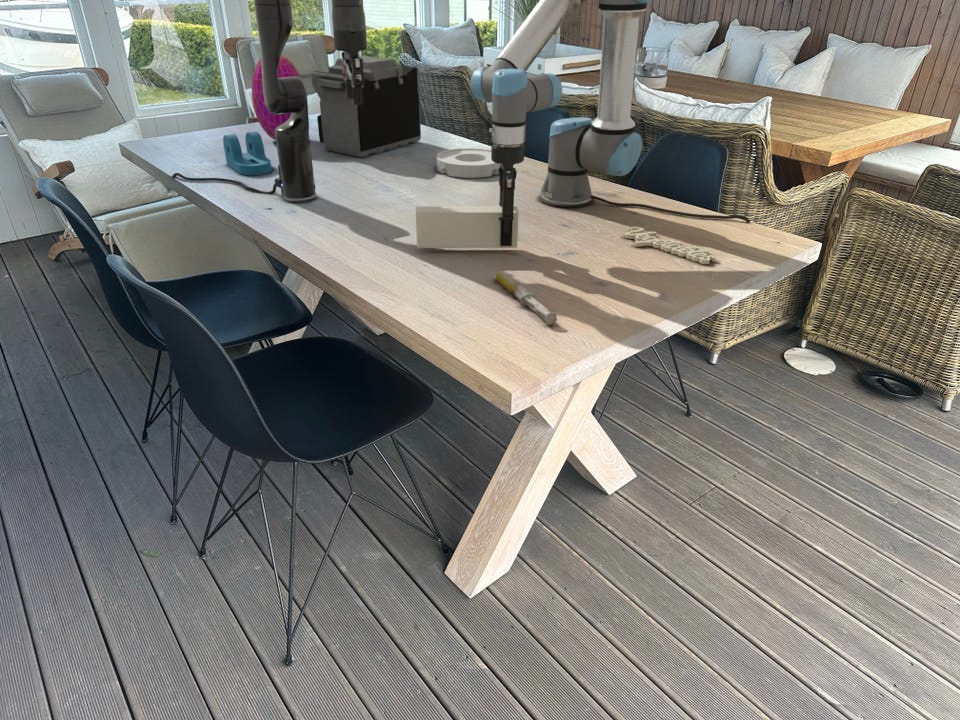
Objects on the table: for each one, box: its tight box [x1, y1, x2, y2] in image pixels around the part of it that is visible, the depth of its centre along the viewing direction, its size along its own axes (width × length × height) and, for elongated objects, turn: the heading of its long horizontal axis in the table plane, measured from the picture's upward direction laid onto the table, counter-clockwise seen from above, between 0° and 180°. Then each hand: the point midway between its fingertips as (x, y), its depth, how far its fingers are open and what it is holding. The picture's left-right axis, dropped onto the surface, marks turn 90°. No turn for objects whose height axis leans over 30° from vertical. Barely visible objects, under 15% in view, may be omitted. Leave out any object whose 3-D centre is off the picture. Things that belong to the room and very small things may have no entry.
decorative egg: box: [251, 55, 302, 141], centre depth 257 cm, size 19×19×30 cm
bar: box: [415, 206, 519, 249], centre depth 165 cm, size 24×4×9 cm, turn 92°
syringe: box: [495, 269, 558, 326], centre depth 143 cm, size 25×4×3 cm, turn 21°
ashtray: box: [435, 147, 502, 179], centre depth 231 cm, size 23×23×4 cm
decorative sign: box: [624, 226, 717, 265], centre depth 170 cm, size 26×1×10 cm
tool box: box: [310, 55, 422, 159], centre depth 250 cm, size 37×22×30 cm, turn 144°
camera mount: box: [222, 131, 272, 176], centre depth 226 cm, size 18×10×10 cm, turn 35°
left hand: (355, 101), depth 167 cm, fingers open, 8 cm apart
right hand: (505, 241), depth 167 cm, fingers closed on bar, 4 cm apart
